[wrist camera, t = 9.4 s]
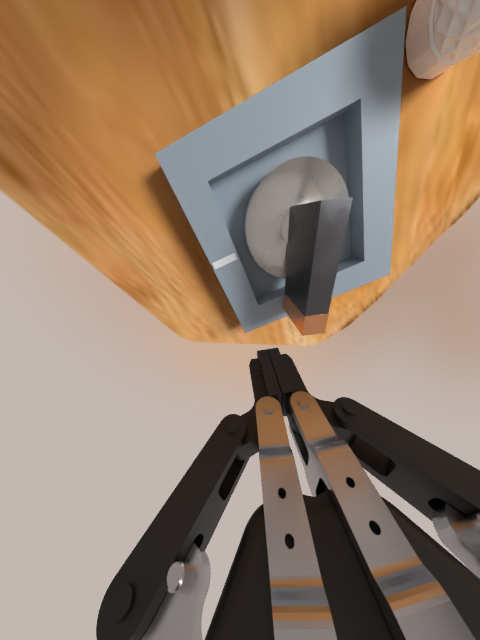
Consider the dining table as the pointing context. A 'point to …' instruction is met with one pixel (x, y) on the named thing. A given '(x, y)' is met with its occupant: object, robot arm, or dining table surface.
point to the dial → (300, 235)
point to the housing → (296, 141)
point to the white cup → (441, 35)
